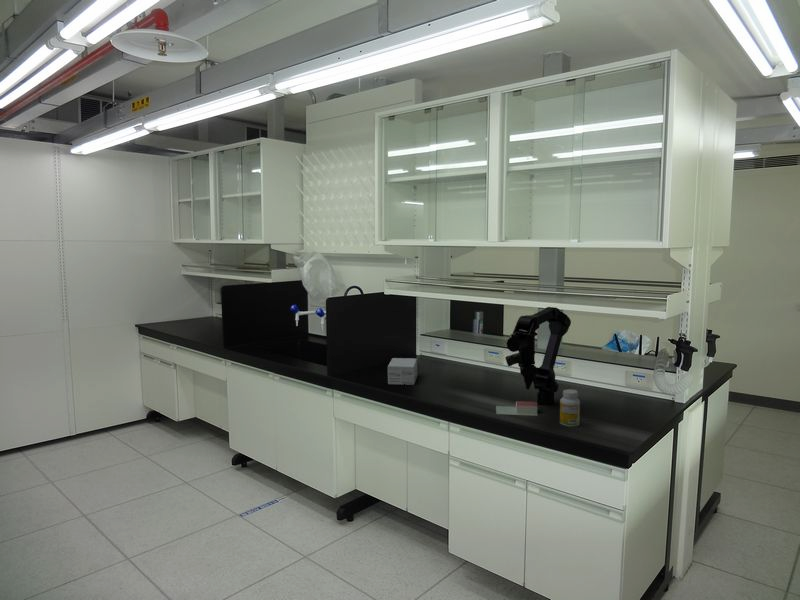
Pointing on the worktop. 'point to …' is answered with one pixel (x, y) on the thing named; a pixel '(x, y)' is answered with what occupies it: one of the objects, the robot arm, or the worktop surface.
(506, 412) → the mat
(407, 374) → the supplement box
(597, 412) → the worktop surface
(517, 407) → the card deck
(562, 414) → the supplement bottle
